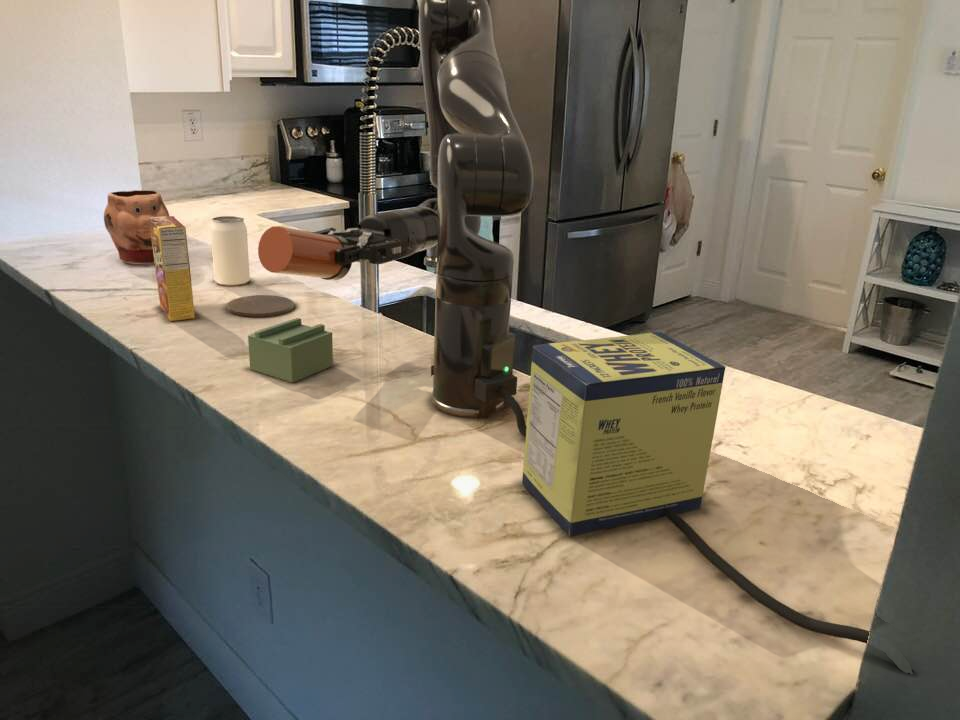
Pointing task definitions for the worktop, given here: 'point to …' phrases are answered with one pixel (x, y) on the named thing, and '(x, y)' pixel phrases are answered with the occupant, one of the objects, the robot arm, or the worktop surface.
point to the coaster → (260, 306)
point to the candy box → (172, 267)
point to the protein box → (619, 429)
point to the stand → (291, 350)
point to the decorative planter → (133, 223)
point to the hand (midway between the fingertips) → (318, 253)
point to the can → (230, 251)
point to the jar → (301, 253)
